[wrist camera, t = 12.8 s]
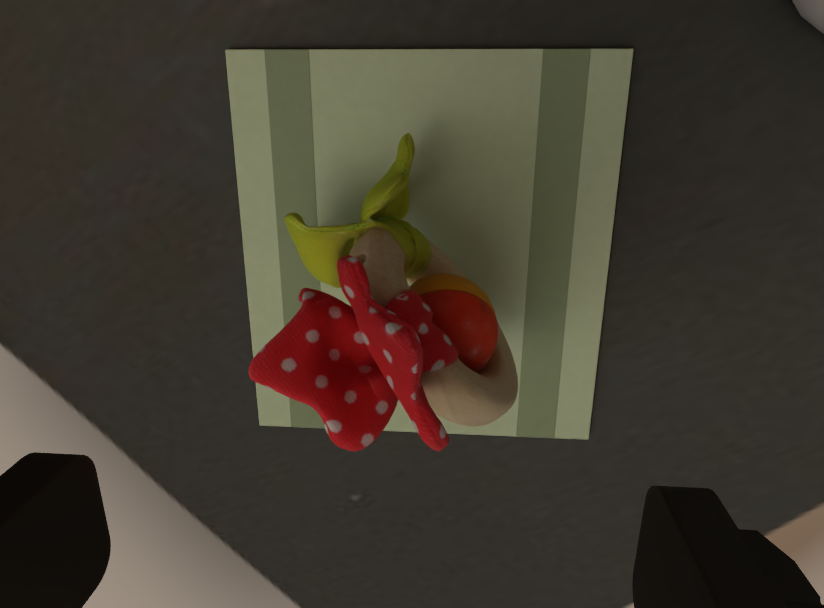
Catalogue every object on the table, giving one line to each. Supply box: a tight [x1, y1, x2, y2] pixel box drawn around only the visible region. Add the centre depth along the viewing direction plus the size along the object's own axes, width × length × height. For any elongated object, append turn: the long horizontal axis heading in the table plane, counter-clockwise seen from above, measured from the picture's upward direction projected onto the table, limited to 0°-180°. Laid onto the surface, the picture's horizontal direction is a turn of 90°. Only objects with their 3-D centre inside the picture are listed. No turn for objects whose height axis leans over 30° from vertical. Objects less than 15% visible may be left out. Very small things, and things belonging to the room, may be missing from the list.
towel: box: [225, 49, 633, 439], centre depth 23 cm, size 15×14×1 cm
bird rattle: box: [249, 133, 518, 451], centre depth 18 cm, size 6×11×9 cm
